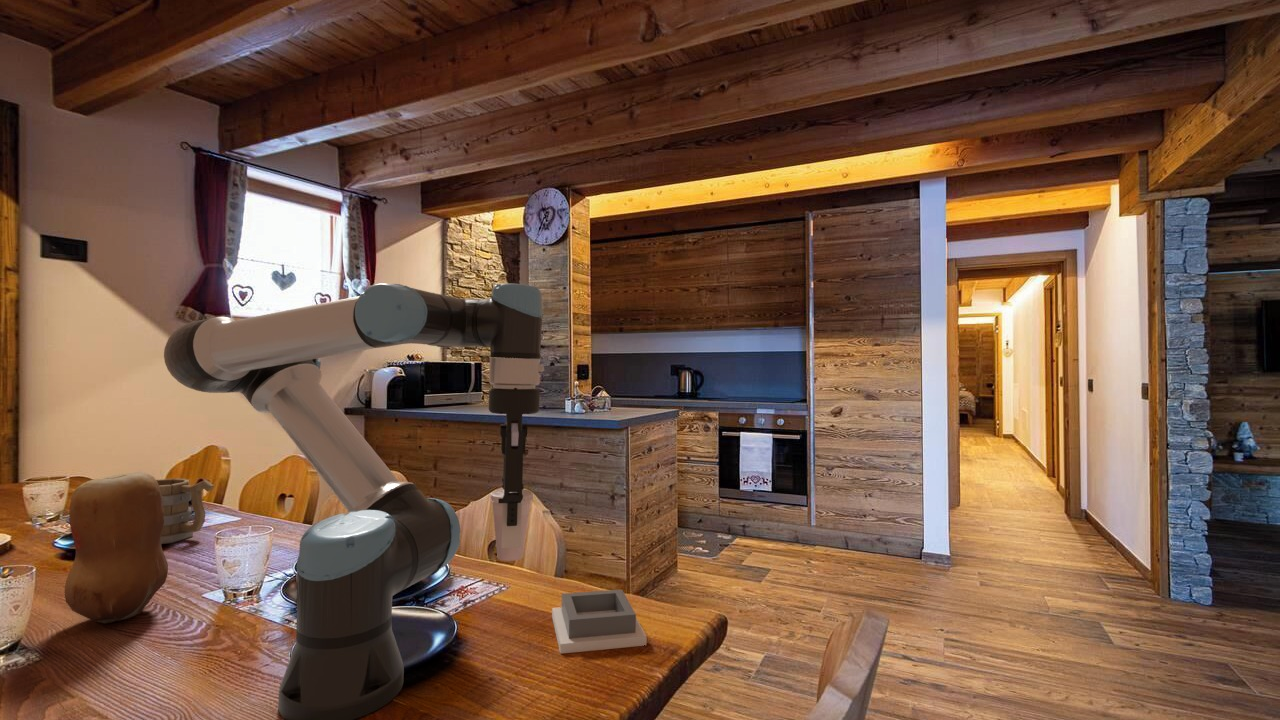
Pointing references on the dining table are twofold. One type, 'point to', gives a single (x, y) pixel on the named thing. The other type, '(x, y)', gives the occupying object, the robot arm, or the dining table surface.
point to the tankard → (181, 508)
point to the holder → (596, 622)
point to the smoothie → (502, 553)
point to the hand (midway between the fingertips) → (510, 539)
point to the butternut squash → (116, 547)
